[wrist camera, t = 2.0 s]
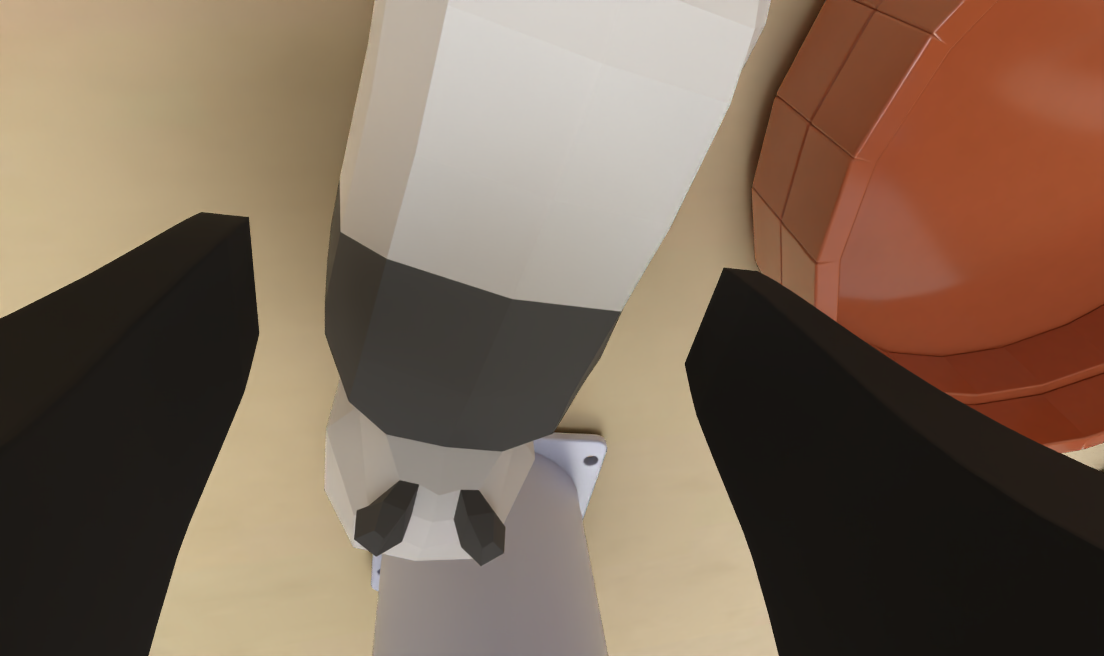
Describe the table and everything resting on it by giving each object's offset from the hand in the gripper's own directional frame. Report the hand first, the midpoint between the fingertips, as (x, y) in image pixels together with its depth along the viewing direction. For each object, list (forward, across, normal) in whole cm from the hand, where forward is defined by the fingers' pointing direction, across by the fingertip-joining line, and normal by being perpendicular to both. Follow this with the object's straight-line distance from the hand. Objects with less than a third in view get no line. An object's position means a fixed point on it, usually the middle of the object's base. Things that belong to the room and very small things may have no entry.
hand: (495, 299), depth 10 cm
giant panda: (+8, 0, 0) cm, 8 cm away
